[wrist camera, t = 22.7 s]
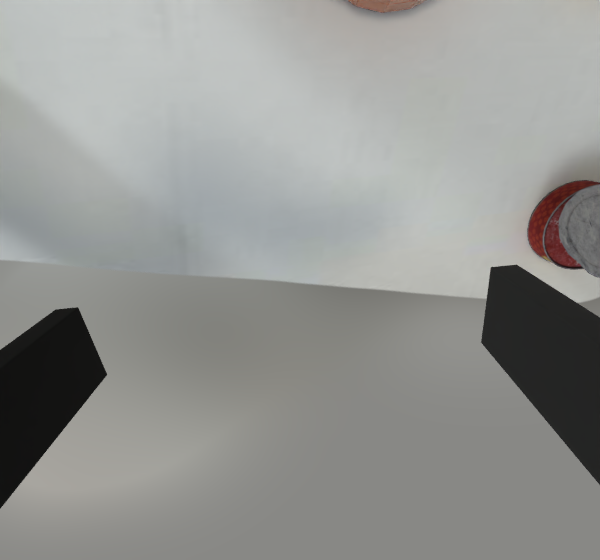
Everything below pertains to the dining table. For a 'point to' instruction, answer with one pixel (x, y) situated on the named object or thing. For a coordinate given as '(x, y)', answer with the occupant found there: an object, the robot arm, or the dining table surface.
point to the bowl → (386, 4)
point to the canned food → (569, 227)
